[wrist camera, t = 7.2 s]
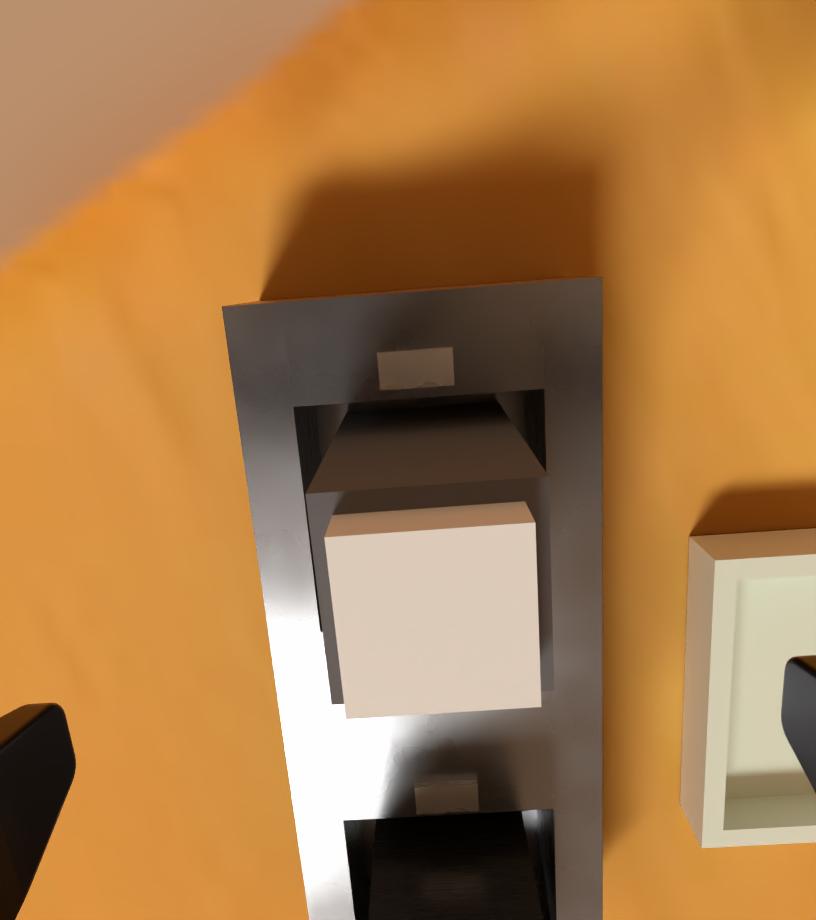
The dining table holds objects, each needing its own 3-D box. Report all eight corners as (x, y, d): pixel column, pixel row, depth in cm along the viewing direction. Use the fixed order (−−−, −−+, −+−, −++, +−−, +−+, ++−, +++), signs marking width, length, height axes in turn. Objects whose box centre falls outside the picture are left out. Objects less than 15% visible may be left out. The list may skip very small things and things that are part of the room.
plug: (497, 400, 18) (561, 494, 10) (504, 542, 19) (566, 726, 11) (346, 412, 18) (295, 514, 10) (361, 552, 19) (324, 741, 11)
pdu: (565, 277, 17) (700, 276, 9) (574, 894, 23) (665, 1246, 14) (258, 300, 18) (123, 320, 9) (336, 907, 23) (292, 1260, 15)
